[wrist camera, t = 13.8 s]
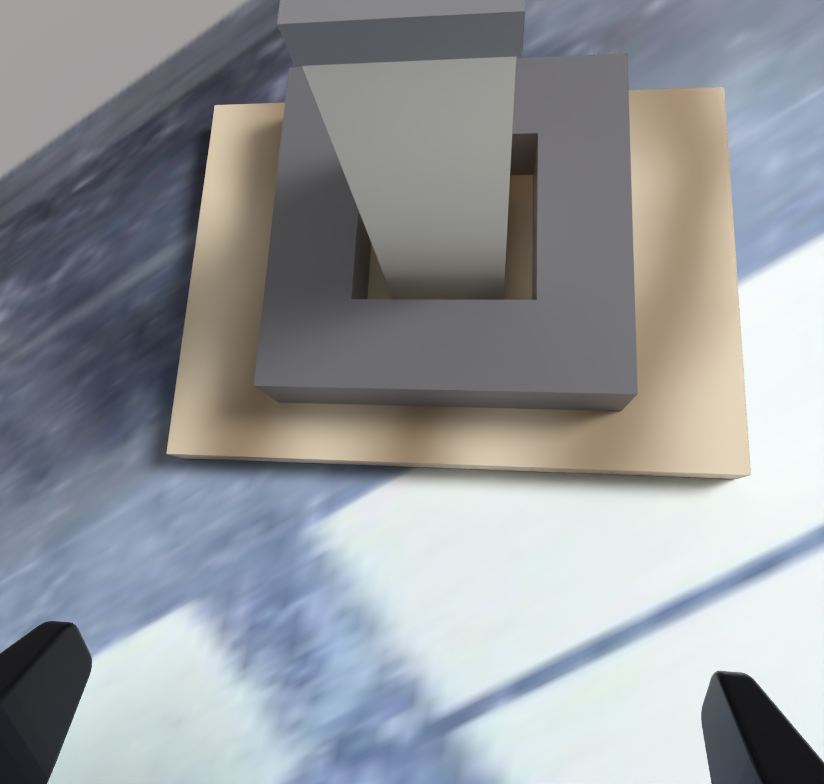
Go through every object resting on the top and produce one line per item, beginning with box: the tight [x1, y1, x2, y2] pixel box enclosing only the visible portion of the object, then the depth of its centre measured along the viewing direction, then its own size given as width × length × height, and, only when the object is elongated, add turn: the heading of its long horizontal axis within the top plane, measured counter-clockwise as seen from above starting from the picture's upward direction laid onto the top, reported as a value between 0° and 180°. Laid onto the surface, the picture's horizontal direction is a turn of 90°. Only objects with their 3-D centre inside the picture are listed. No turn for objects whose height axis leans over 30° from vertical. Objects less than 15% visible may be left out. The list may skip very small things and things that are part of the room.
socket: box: [254, 54, 638, 411], centre depth 23 cm, size 12×12×2 cm
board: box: [166, 87, 751, 479], centre depth 24 cm, size 20×14×1 cm
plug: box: [277, 0, 525, 300], centre depth 18 cm, size 4×5×13 cm
